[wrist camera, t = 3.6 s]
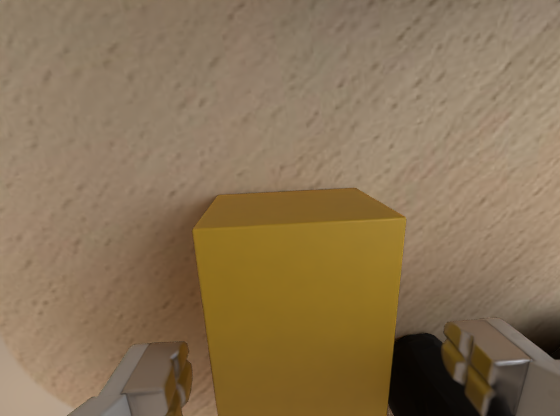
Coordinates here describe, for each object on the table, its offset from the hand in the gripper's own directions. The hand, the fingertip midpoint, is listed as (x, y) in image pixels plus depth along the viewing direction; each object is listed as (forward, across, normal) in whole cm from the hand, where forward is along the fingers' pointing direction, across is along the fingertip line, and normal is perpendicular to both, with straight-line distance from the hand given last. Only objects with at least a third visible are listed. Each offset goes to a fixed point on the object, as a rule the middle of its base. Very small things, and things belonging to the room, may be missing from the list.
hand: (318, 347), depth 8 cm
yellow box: (+3, +1, 0) cm, 3 cm away
